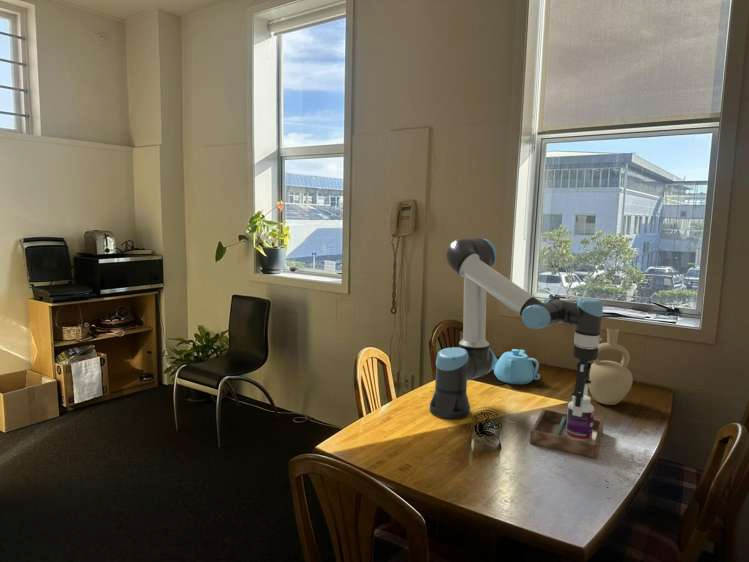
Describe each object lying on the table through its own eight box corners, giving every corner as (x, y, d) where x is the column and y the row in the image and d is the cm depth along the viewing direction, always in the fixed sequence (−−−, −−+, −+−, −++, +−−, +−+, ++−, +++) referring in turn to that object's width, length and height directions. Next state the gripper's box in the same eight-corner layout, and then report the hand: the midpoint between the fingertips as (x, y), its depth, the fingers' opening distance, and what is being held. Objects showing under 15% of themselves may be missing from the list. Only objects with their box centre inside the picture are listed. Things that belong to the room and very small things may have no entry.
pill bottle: (593, 445, 163) (597, 402, 161) (567, 442, 165) (571, 399, 163) (588, 434, 171) (592, 393, 169) (563, 432, 172) (566, 391, 171)
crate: (529, 443, 165) (530, 430, 164) (542, 420, 184) (543, 408, 183) (596, 459, 155) (597, 445, 155) (602, 432, 174) (603, 420, 174)
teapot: (523, 372, 241) (525, 343, 239) (544, 385, 222) (546, 355, 220) (485, 373, 237) (487, 345, 235) (503, 387, 219) (505, 356, 217)
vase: (588, 407, 198) (594, 332, 194) (581, 393, 214) (587, 323, 210) (635, 412, 194) (642, 336, 190) (624, 397, 210) (631, 326, 206)
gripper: (594, 357, 151) (587, 424, 154) (602, 339, 173) (595, 398, 176) (568, 353, 155) (561, 418, 158) (578, 336, 176) (572, 394, 179)
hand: (579, 408), depth 167 cm, fingers open, 13 cm apart
